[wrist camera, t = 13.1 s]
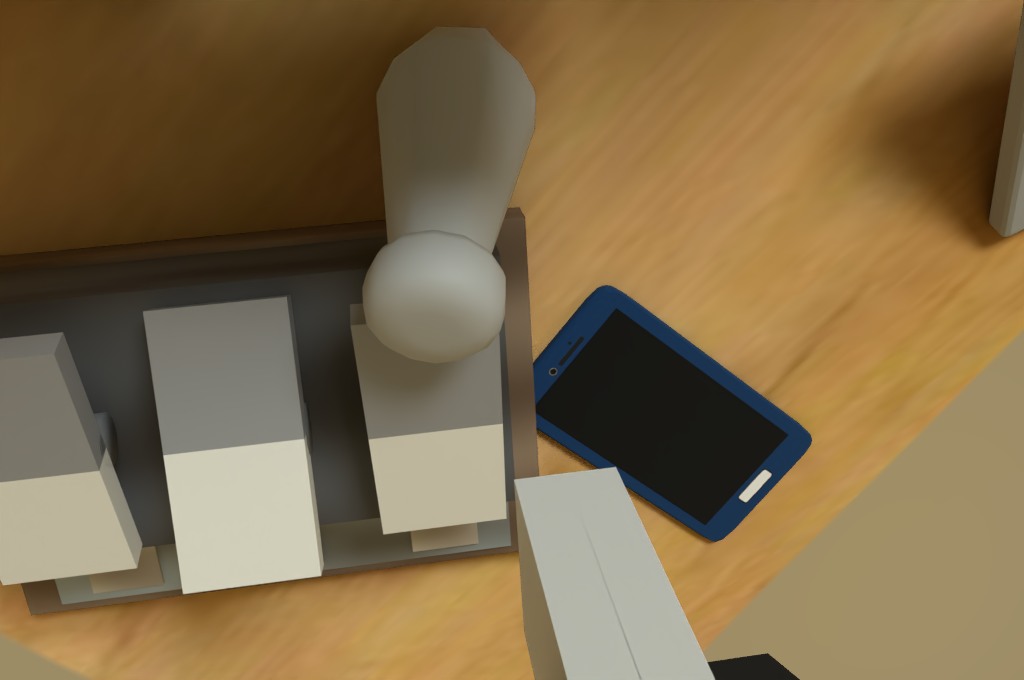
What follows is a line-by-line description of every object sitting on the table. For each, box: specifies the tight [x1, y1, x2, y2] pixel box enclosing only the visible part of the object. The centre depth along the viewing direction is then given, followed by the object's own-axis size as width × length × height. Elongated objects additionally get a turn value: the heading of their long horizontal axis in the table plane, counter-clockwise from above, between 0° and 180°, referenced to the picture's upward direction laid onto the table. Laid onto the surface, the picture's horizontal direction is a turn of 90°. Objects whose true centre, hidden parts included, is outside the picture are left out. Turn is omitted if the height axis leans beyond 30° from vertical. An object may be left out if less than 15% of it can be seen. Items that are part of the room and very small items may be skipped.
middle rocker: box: [143, 295, 324, 594], centre depth 34 cm, size 10×5×3 cm, turn 2°
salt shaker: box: [362, 26, 536, 364], centre depth 32 cm, size 6×6×13 cm
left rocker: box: [0, 332, 142, 585], centre depth 33 cm, size 10×5×3 cm, turn 4°
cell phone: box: [533, 285, 812, 542], centre depth 44 cm, size 7×14×1 cm, turn 51°
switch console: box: [0, 207, 539, 615], centre depth 39 cm, size 16×23×5 cm
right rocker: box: [350, 303, 507, 534], centre depth 35 cm, size 10×5×3 cm, turn 4°
